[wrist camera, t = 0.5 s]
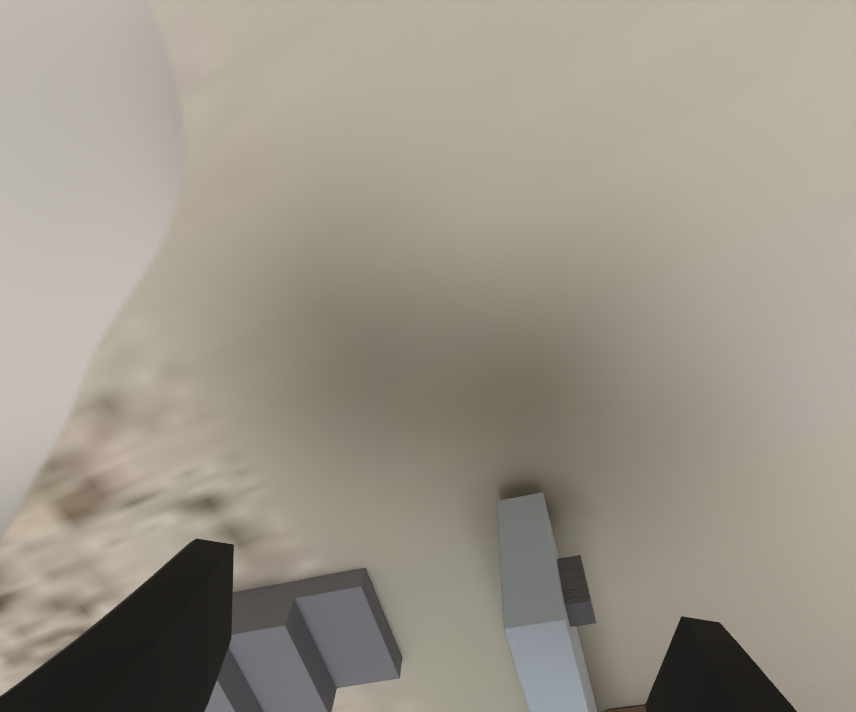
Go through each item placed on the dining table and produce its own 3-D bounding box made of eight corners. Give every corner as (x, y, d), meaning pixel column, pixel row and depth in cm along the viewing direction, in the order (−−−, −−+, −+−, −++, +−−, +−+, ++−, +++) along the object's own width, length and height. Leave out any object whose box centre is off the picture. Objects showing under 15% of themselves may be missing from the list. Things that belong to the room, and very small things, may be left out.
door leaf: (622, 735, 24) (659, 895, 19) (565, 741, 24) (587, 901, 20) (564, 487, 20) (593, 615, 15) (496, 500, 20) (504, 629, 15)
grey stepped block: (402, 651, 24) (392, 740, 21) (239, 678, 26) (204, 765, 22) (366, 562, 23) (348, 642, 19) (193, 594, 24) (148, 676, 21)
